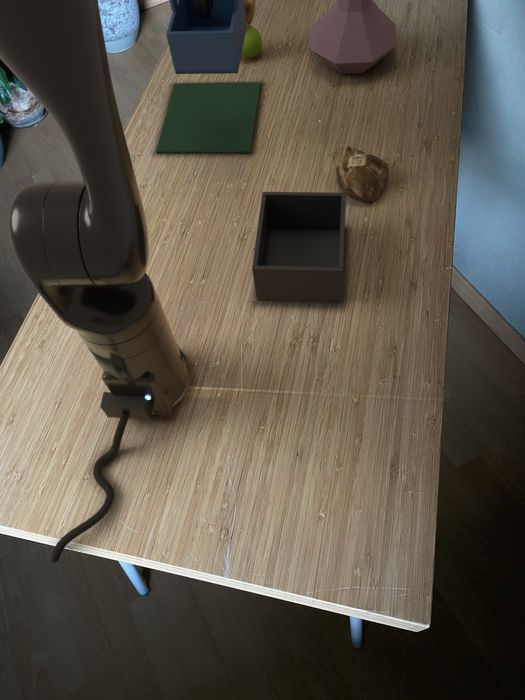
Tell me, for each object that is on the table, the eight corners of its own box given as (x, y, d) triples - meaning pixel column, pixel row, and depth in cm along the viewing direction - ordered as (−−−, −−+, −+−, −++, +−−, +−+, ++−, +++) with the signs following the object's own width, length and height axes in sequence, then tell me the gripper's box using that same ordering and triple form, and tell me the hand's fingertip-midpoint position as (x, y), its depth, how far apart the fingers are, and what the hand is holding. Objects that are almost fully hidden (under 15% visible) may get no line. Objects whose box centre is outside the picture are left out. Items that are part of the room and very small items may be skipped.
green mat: (250, 153, 98) (250, 151, 97) (156, 153, 99) (155, 151, 99) (261, 84, 107) (260, 81, 106) (174, 85, 108) (174, 83, 108)
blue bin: (239, 73, 83) (231, 8, 75) (173, 74, 84) (158, 10, 76) (248, 26, 88) (241, -39, 80) (186, 27, 89) (173, -37, 81)
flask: (326, 25, 114) (327, -94, 97) (409, 41, 109) (425, -82, 92) (292, 77, 107) (286, -42, 90) (379, 95, 102) (391, -26, 85)
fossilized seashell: (340, 145, 93) (321, 196, 90) (362, 123, 87) (342, 177, 84) (379, 168, 95) (362, 220, 92) (403, 148, 89) (385, 203, 86)
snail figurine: (271, 48, 112) (266, -18, 101) (252, 67, 109) (245, 2, 99) (247, 41, 114) (240, -25, 103) (228, 59, 111) (219, -6, 101)
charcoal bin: (341, 305, 81) (343, 271, 74) (257, 302, 82) (251, 268, 76) (344, 229, 88) (346, 192, 81) (266, 228, 89) (262, 191, 82)
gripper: (158, -165, 70) (186, -15, 85) (134, -109, 63) (170, 43, 78) (220, -169, 69) (238, -16, 84) (202, -112, 62) (225, 42, 77)
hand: (205, 12), depth 81 cm, fingers closed on blue bin, 1 cm apart
